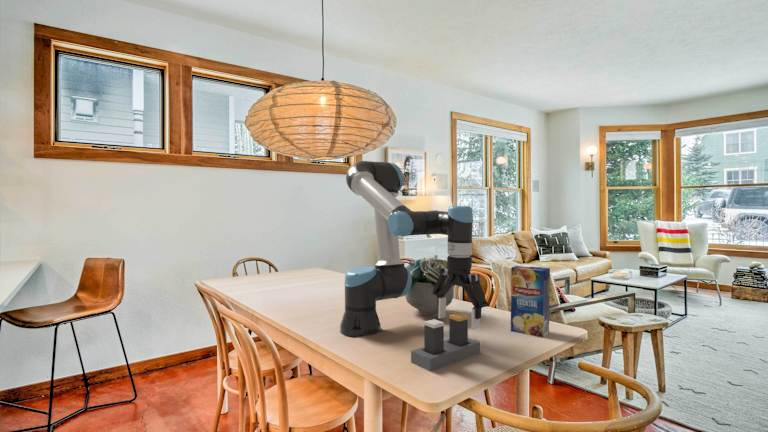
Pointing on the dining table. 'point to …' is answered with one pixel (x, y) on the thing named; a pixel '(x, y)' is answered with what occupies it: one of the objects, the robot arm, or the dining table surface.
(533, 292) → the juice carton
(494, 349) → the dining table surface
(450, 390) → the dining table surface
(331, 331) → the dining table surface
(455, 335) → the plug
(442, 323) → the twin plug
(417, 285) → the flower arrangement
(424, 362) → the grey socket block
